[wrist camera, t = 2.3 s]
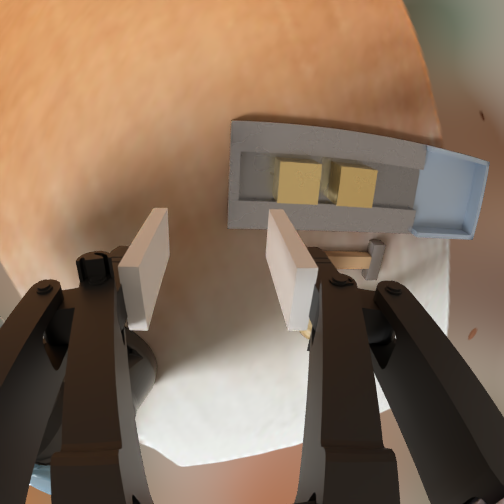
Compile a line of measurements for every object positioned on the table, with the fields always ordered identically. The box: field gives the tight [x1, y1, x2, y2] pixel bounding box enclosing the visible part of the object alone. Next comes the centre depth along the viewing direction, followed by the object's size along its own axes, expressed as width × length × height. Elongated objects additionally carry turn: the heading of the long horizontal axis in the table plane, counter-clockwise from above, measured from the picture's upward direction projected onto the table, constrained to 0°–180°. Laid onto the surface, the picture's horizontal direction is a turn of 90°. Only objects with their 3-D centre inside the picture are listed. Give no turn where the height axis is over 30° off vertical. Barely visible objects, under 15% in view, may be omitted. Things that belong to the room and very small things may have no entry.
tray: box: [411, 145, 490, 240], centre depth 33 cm, size 11×11×3 cm
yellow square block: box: [272, 157, 322, 205], centre depth 30 cm, size 4×4×3 cm
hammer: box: [324, 240, 386, 280], centre depth 37 cm, size 13×5×2 cm, turn 86°
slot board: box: [227, 120, 427, 234], centre depth 32 cm, size 22×11×2 cm, turn 87°
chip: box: [327, 161, 378, 208], centre depth 31 cm, size 4×4×3 cm
